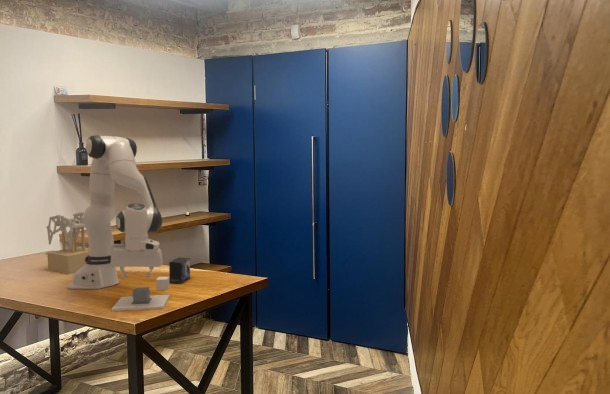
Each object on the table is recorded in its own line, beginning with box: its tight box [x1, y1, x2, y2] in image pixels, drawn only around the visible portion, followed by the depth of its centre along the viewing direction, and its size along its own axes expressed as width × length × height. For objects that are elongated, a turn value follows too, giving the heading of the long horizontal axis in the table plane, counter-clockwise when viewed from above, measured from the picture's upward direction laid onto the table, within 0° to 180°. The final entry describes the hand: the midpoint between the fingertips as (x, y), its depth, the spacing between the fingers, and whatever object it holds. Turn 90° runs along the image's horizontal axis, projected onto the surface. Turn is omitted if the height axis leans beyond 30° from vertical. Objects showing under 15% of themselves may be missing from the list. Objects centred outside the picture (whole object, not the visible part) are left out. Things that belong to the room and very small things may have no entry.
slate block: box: [132, 286, 151, 303], centre depth 203 cm, size 6×6×5 cm
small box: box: [168, 257, 191, 284], centre depth 239 cm, size 11×6×10 cm, turn 168°
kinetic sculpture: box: [45, 211, 89, 275], centre depth 265 cm, size 25×20×30 cm
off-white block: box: [155, 276, 171, 291], centre depth 225 cm, size 5×5×5 cm
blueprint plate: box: [111, 294, 171, 312], centre depth 203 cm, size 20×16×1 cm
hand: (136, 277), depth 201 cm, fingers open, 8 cm apart
